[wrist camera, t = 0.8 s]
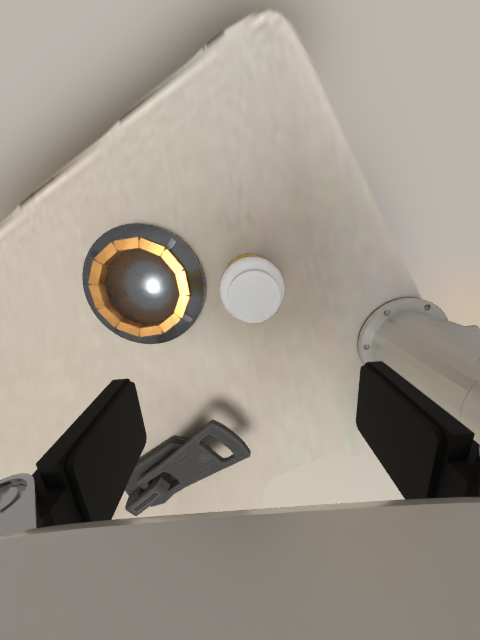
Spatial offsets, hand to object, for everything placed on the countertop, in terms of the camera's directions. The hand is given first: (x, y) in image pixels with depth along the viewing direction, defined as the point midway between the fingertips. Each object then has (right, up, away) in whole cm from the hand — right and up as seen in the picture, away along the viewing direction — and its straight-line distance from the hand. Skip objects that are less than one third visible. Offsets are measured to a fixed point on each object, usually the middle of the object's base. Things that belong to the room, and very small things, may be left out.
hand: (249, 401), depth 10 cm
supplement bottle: (+1, +9, +23) cm, 25 cm away
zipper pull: (-10, -19, +32) cm, 39 cm away
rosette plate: (-13, +8, +23) cm, 28 cm away
